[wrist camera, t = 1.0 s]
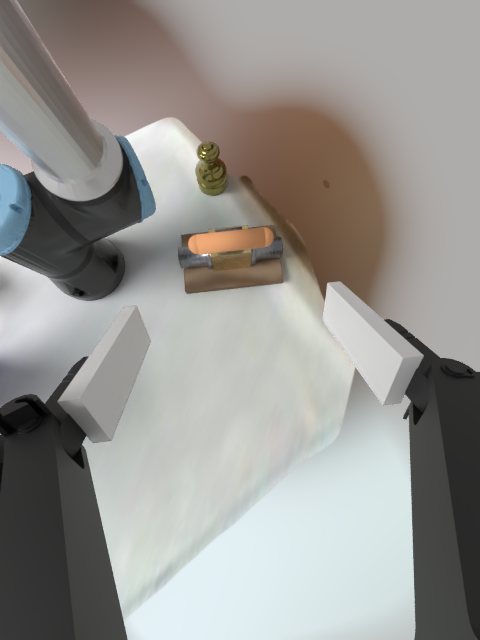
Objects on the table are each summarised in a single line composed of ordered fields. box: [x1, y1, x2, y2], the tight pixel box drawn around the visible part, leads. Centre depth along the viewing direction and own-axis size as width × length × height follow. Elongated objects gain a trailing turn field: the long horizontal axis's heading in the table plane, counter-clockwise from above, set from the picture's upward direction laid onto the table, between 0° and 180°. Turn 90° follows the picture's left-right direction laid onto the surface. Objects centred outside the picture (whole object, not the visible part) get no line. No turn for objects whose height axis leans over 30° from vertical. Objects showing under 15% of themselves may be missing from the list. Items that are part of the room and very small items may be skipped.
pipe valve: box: [178, 225, 283, 294], centre depth 49 cm, size 14×22×8 cm, turn 97°
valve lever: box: [188, 227, 274, 255], centre depth 37 cm, size 3×12×16 cm
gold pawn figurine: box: [195, 141, 227, 195], centre depth 52 cm, size 7×7×10 cm
